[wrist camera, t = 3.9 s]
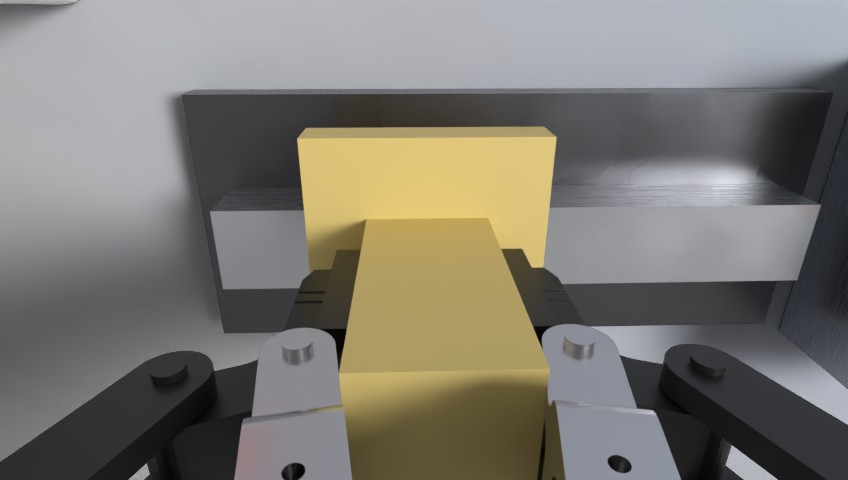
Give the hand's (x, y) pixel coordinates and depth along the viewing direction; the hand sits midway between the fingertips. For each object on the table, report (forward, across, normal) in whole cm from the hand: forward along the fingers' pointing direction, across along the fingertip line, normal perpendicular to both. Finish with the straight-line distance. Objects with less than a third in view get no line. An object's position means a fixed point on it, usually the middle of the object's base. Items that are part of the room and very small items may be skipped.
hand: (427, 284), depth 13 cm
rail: (+5, -3, 0) cm, 6 cm away
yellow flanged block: (+4, 0, 0) cm, 4 cm away
